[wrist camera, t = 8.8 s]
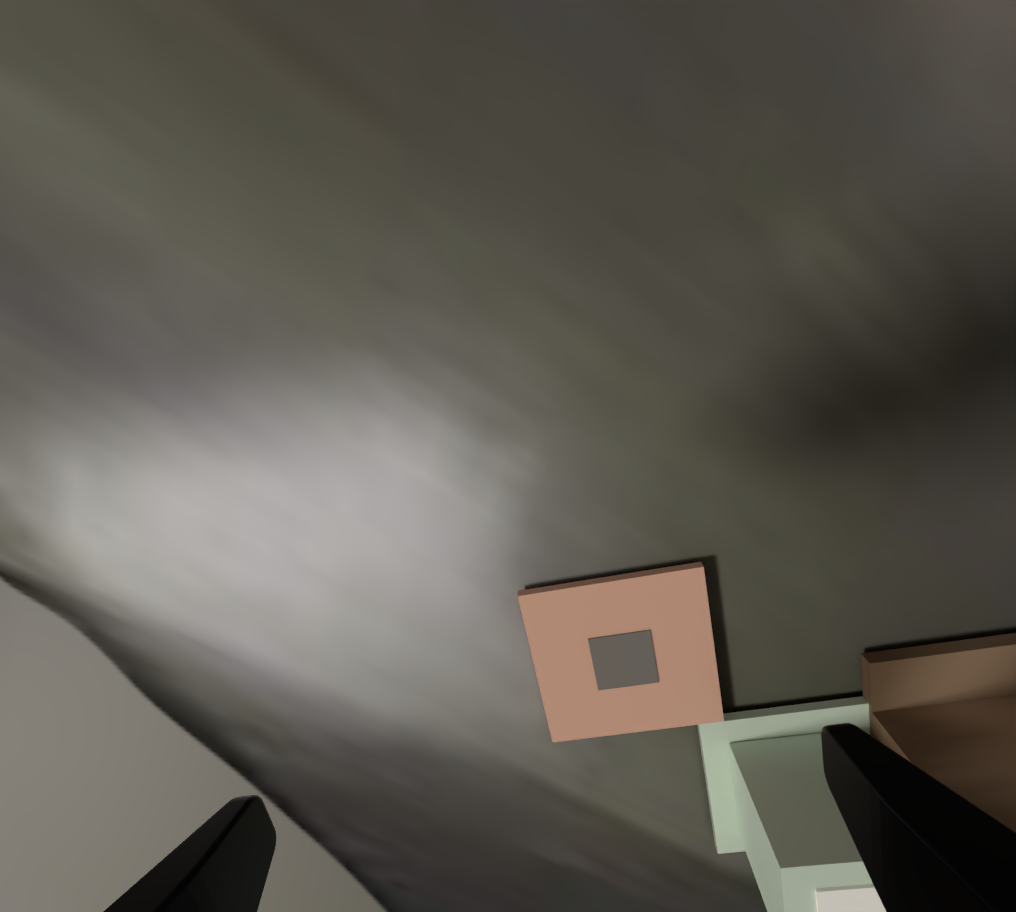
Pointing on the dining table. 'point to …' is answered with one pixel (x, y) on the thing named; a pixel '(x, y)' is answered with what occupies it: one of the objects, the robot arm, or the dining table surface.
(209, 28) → the dining table surface
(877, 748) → the robot arm
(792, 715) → the sage pad
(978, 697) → the walnut screen
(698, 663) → the terracotta pad
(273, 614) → the dining table surface
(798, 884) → the sage block
